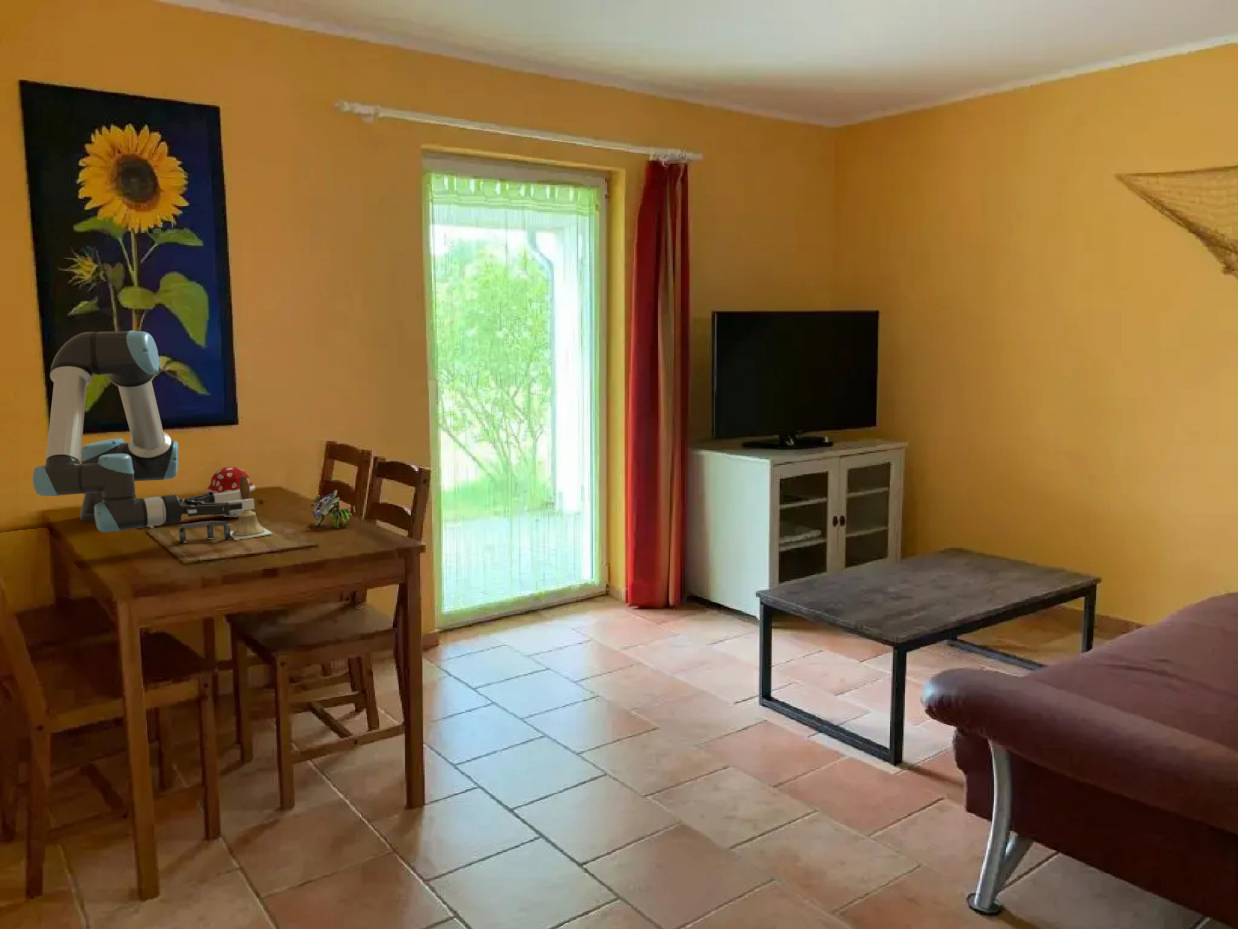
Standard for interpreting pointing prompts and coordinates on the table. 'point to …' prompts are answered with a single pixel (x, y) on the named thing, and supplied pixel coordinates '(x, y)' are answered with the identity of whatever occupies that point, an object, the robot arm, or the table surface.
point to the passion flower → (330, 509)
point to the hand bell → (247, 515)
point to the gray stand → (209, 529)
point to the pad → (251, 535)
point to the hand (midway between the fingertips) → (246, 499)
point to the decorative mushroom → (228, 484)
